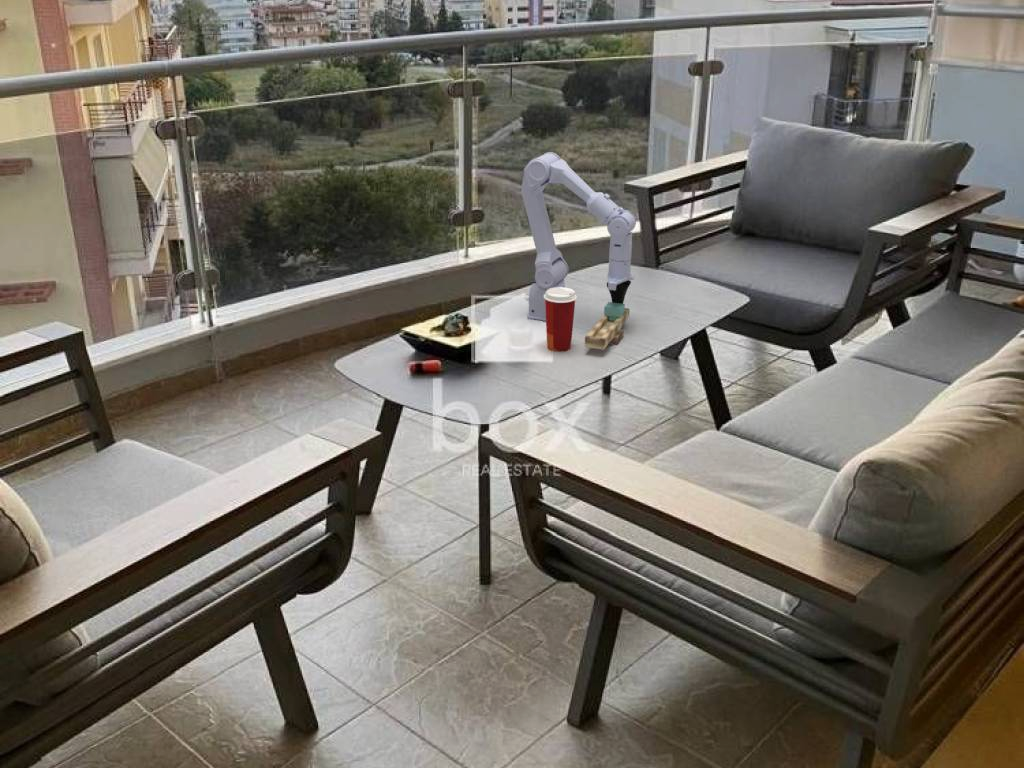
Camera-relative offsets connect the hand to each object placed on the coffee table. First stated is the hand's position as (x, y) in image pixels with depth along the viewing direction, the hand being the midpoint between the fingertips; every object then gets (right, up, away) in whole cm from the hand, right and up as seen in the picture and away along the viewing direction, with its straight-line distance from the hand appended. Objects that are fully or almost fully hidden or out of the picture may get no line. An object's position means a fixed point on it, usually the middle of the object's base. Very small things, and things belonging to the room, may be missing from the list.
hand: (617, 307), depth 269 cm
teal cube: (-1, -3, -2) cm, 4 cm away
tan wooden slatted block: (-3, -9, -5) cm, 11 cm away
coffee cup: (-16, -11, -10) cm, 22 cm away
